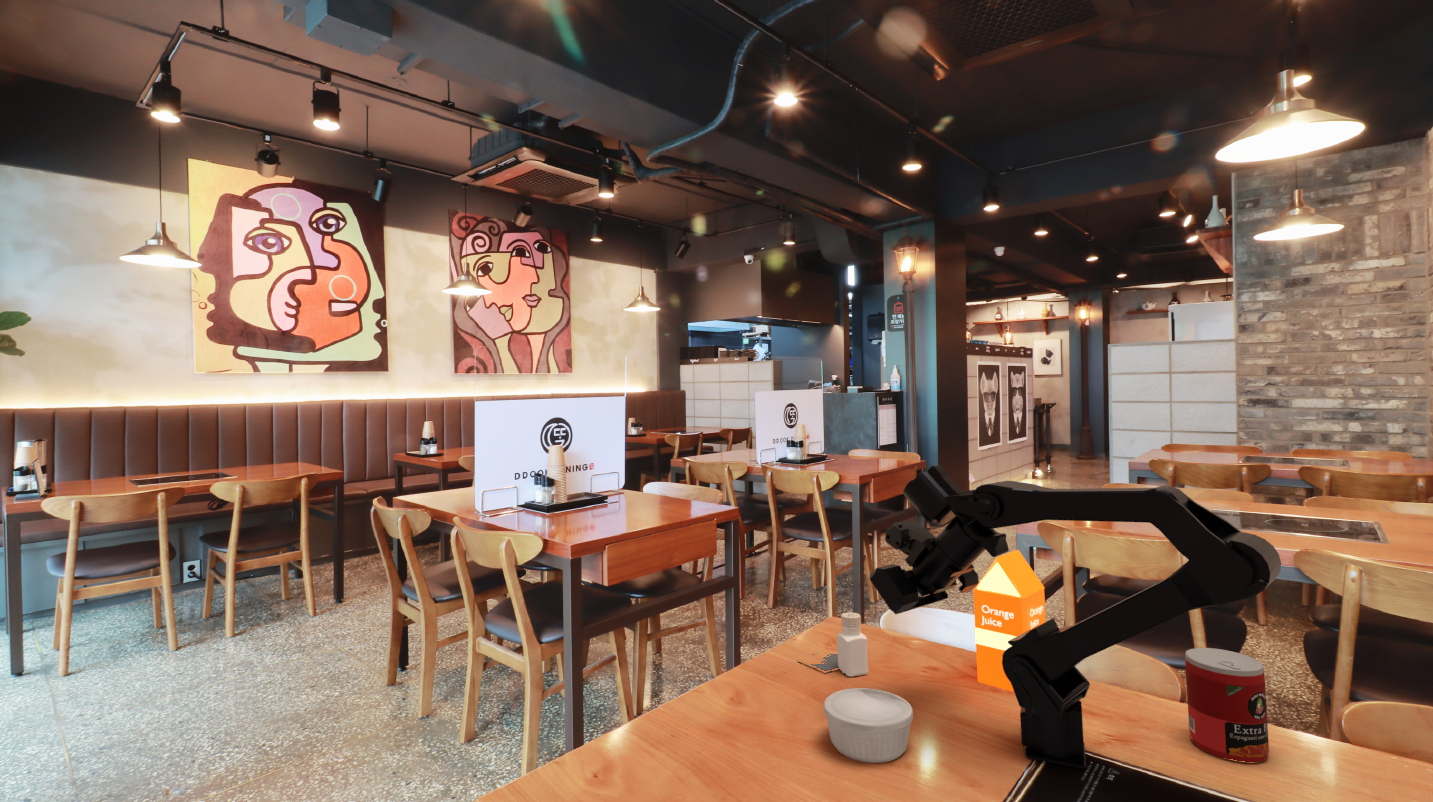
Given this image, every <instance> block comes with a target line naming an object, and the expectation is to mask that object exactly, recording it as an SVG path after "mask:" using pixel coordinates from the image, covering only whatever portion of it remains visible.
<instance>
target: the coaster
mask: <svg viewBox="0 0 1433 802" xmlns="http://www.w3.org/2000/svg"><path fill="white" fill-rule="evenodd" d="M829 655H831V656H829ZM829 655H827V656H829V657H824V658H823V659H825V660H827V661H825V660H824V661H822V662H821V663H823V662H825V663H824V664H815V665H814V664H811V665H813V666H816V667H817V668H820V669H821V670H824V671H828V670H832V669H835V668H838V654H829ZM826 663H827V664H826Z"/></svg>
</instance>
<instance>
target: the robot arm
mask: <svg viewBox="0 0 1433 802" xmlns="http://www.w3.org/2000/svg"><path fill="white" fill-rule="evenodd" d="M902 494H903V495H904V497H906V499H907V500H908V501H909V502H910V503H911V504H912V506H913V507H914V508H915V509H916V510H917V511H918V513H919V514H921V516H922V518H924V520H926V522H927V523H928V524H932V525H933V524H935V523H937V524H938V525H939V526H942V525H945V524H947V523H948V522H949V523H948V524H947V525H946V526H945V528H943V530H942V531H941V532H940V533H938V535H937V536H935V535H934V534H933V533H932V532H931V531H929V530H928V529H927V528H925V527H923V526H921V524H919V523H917V522H916V521H913V520H903V521H898V522H894V523H893V524H891V525H890V524H889V528H888V529H886V530H885V531H884V533H885V537H884V541H885V542H886V543H887V544H888V545H889V546H891V547H892V548H893V549H894V550H896V551H897V550H899V551H900V552H902V553H903V554H904V555H906V556H907V557H906V558H905V559H904V561H905V562H906V563H907V565H908V566H909V567H912V569H909V570H906V569H905V568H904V569H903V568H902V567H901V566H900V564H899V565H898V564H894V563H891V564H887V565H883V566H879V567H876V568H875V569H874V570H873V571H872V573H871V574H870V575H869V581H870V582H871V584H872V585H873V587H874V588H875V590H876V591H877V592H878V594H879V595H880V597H881V599H882V600H883V602H884V603H885V604H886V605H887V607H888V609H889V610H890V611H891V612H893V614H894V615H898V614H901V613H904V612H905V613H906V612H909V611H912V610H915V609H918V608H921V607H925V606H927V605H928V606H929V605H931V604H934V603H936V602H937V603H938V602H941V601H944V600H947V599H949V595H948V593H947V592H946V591H949V590H952V589H954V588H955V587H956V586H957V585H958V583H957V580H959V582H960V584H961V585H960V586H959V587H958V591H959V593H960V594H965V593H968V592H971V591H973V589H975V588H976V586H977V585H978V584H979V582H980V581H979V573H978V572H976V570H975V566H974V565H973V563H974V562H975V561H977V560H978V558H979V557H981V556H982V554H984V552H987V553H988V555H990V556H991V557H993V558H997V557H1000V556H1002V555H1005V554H1007V553H1009V551H1010V549H1009V544H1008V542H1007V534H1006V533H1005V532H1004V533H1001V532H998V531H996V530H995V529H999V528H1006V527H1013V526H1018V525H1024V524H1030V523H1036V522H1043V521H1067V522H1068V521H1070V522H1071V521H1072V522H1075V521H1076V522H1078V521H1079V522H1110V523H1111V522H1113V523H1114V522H1117V523H1147V524H1148V523H1150V524H1151V525H1153V526H1154V528H1156V529H1157V530H1159V532H1161V533H1162V535H1163V536H1164V537H1165V538H1166V539H1167V540H1168V541H1169V542H1170V544H1171V545H1172V546H1173V547H1175V548H1176V550H1177V551H1178V552H1179V553H1180V554H1181V555H1182V556H1184V557H1185V559H1186V560H1188V561H1186V562H1185V563H1183V565H1181V566H1180V567H1179V568H1178V569H1177V570H1176V571H1174V572H1173V573H1172V574H1171V575H1169V576H1167V578H1165V579H1163V580H1161V581H1159V582H1157V583H1154V584H1153V585H1151V586H1149V587H1147V588H1145V589H1143V590H1141V591H1139V592H1137V593H1135V594H1133V595H1131V596H1129V597H1127V598H1124V599H1122V600H1121V601H1118V602H1117V603H1114V604H1112V605H1111V606H1109V607H1107V608H1105V609H1103V610H1101V611H1099V612H1097V613H1094V614H1093V615H1090V616H1089V617H1087V618H1085V619H1083V620H1082V621H1079V622H1077V623H1075V624H1073V625H1070V626H1063V627H1059V626H1058V624H1057V622H1056V620H1055V618H1053V617H1052V618H1050V619H1048V620H1047V621H1046V622H1045V623H1043V624H1041V625H1039V626H1037V627H1035V628H1033V629H1030V630H1028V631H1026V632H1024V633H1022V634H1021V635H1019V636H1017V637H1015V638H1013V639H1011V640H1009V641H1008V644H1010V645H1011V647H1009V648H1008V649H1007V650H1005V651H1004V653H1003V655H1002V666H1003V671H1004V673H1005V675H1006V677H1007V678H1008V680H1009V681H1010V682H1011V685H1012V687H1013V690H1014V692H1013V693H1014V695H1015V698H1016V700H1017V703H1018V705H1019V707H1020V711H1019V718H1020V721H1019V722H1020V739H1021V741H1020V742H1021V745H1022V746H1023V747H1025V753H1024V754H1025V755H1024V756H1025V758H1027V759H1030V760H1035V761H1039V762H1044V761H1045V763H1049V762H1050V763H1051V764H1055V765H1059V766H1060V765H1061V766H1064V765H1065V766H1066V767H1070V766H1075V767H1080V768H1086V769H1087V761H1086V760H1087V759H1086V746H1085V745H1086V744H1085V742H1084V725H1083V724H1084V723H1083V709H1082V701H1081V700H1082V699H1085V698H1086V696H1087V693H1088V691H1089V689H1090V686H1091V685H1090V684H1091V683H1090V682H1089V680H1088V679H1087V678H1086V677H1085V676H1084V674H1083V673H1081V671H1080V670H1079V669H1078V668H1077V667H1076V666H1077V665H1079V664H1080V663H1082V662H1083V661H1084V660H1085V659H1086V658H1090V657H1091V656H1094V655H1096V654H1098V653H1100V652H1102V651H1104V650H1106V649H1109V648H1111V647H1112V646H1115V645H1117V644H1120V643H1121V642H1124V641H1126V640H1129V639H1130V638H1133V637H1134V636H1137V635H1139V634H1141V633H1143V632H1146V631H1148V630H1150V629H1152V628H1154V627H1156V626H1159V625H1161V624H1163V623H1166V622H1167V621H1169V620H1171V619H1174V618H1176V617H1179V616H1181V615H1183V614H1185V613H1187V612H1189V611H1193V610H1199V609H1206V608H1210V607H1211V608H1212V607H1217V606H1222V605H1226V604H1230V603H1234V602H1239V601H1242V600H1245V599H1250V598H1253V597H1256V596H1257V595H1259V594H1260V593H1263V591H1265V590H1266V589H1267V588H1268V587H1269V586H1270V585H1271V584H1272V583H1273V582H1274V581H1275V580H1276V579H1277V578H1278V576H1279V575H1280V573H1281V568H1282V561H1281V556H1280V553H1278V551H1277V549H1276V548H1275V546H1274V545H1273V544H1271V543H1270V541H1267V539H1266V538H1263V537H1261V536H1259V535H1258V534H1253V533H1249V532H1243V531H1241V530H1240V529H1239V528H1237V527H1236V526H1234V525H1233V524H1232V523H1231V522H1229V521H1228V520H1226V519H1225V518H1223V517H1221V516H1220V515H1218V514H1216V513H1215V512H1213V511H1211V510H1209V509H1208V508H1206V507H1204V506H1203V505H1202V504H1199V503H1198V502H1196V501H1195V500H1194V499H1192V498H1191V497H1189V496H1188V495H1187V494H1185V492H1183V491H1182V490H1181V489H1179V488H1177V487H1175V486H1171V485H1160V486H1157V487H1125V488H1124V487H1116V488H1115V487H1113V488H1109V487H1107V488H1106V487H1105V488H1103V487H1102V488H1101V487H1100V488H1099V487H1098V488H1096V487H1095V488H1052V487H1051V488H1050V487H1045V486H1041V485H1037V484H1035V483H1034V484H1033V483H1028V482H1022V481H1015V480H1003V481H996V482H992V483H985V484H981V485H979V486H977V487H976V488H975V489H971V490H970V489H969V490H965V491H964V490H962V488H961V487H959V485H958V484H957V483H956V482H955V481H954V480H953V479H952V477H950V476H949V475H948V473H947V471H946V470H945V468H944V467H942V466H941V464H936V465H931V466H930V467H929V468H928V470H926V471H924V472H922V473H920V474H919V475H918V476H916V477H915V478H914V479H910V481H909V482H908V483H907V484H906V485H905V486H904V489H903V491H902ZM1075 767H1074V768H1075ZM1080 768H1079V769H1080Z"/></svg>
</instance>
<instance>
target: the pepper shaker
mask: <svg viewBox="0 0 1433 802" xmlns="http://www.w3.org/2000/svg"><path fill="white" fill-rule="evenodd" d="M840 616H841V629H842V631H841V632H839V633H838V634H837V635H836V644H837V645H836V648H837V650H836V651H838V668H839V669H840V670H841V671H842V672H841V671H840V670H839V669H838V670H839V671H840V672H841V673H843V674H844V673H845V674H846V675H845V674H844V675H845V676H847V677H849V676H850V677H849V678H851V677H857V676H864V675H868V673H869V653H868V638H867V636H866V635H865V634H864V633H862V616H861V615H860V613H857V612H844V613H842V614H841V615H840Z"/></svg>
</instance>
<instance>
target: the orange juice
mask: <svg viewBox="0 0 1433 802" xmlns="http://www.w3.org/2000/svg"><path fill="white" fill-rule="evenodd" d="M994 558H995V560H994V561H993V562H992V563H991V565H990V567H989V568H988V569H987V571H985V573H984V575H983V577H982V578H981V579H980V581H979V584H978V585H977V586H976V587H975V588H973V589H972V591H973V606H974V607H973V608H974V609H973V610H974V625H975V626H974V635H975V636H974V637H975V640H974V641H975V649H976V651H975V653H976V654H975V655H976V670H977V671H976V672H977V674H976V675H977V682H978V683H982V684H984V685H988V686H992V687H995V688H999V689H1001V690H1002V689H1003V690H1005V691H1009V692H1013V693H1014V690H1013V687H1012V685H1011V682H1010V681H1009V680H1008V678H1007V677H1006V675H1005V673H1004V671H1003V666H1002V655H1003V653H1004V651H1005V650H1007V649H1008V648H1009V647H1011V645H1010V644H1008V641H1009V640H1011V639H1013V638H1015V637H1017V636H1019V635H1021V634H1022V633H1024V632H1026V631H1028V630H1030V629H1033V628H1035V627H1037V626H1039V625H1041V624H1043V623H1045V622H1046V620H1047V619H1046V601H1045V599H1046V598H1045V586H1044V585H1043V583H1042V581H1040V579H1039V578H1038V576H1037V574H1036V573H1035V571H1034V570H1033V569H1032V567H1031V565H1030V564H1029V563H1028V561H1026V558H1025V557H1024V556H1023V554H1022V553H1021V551H1020V550H1019V549H1016V550H1014V551H1011V552H1007V553H1004V554H1001V555H999V556H996V557H994Z"/></svg>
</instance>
